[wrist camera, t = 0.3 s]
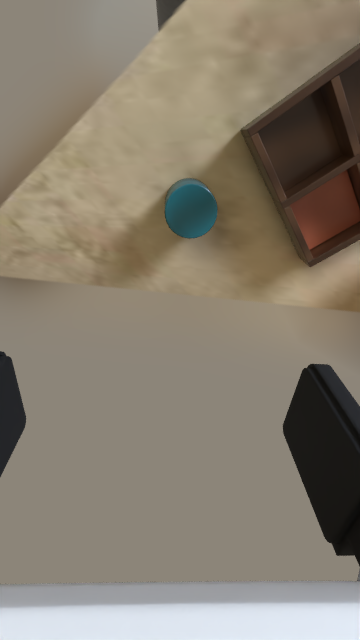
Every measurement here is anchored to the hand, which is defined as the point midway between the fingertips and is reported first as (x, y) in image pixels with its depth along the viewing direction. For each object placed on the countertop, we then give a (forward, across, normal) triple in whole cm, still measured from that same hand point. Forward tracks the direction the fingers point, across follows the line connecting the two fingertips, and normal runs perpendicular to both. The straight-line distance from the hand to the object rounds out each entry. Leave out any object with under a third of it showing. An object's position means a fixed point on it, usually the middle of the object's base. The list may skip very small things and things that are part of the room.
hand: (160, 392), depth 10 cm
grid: (+21, -15, -7) cm, 27 cm away
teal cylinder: (+22, -2, -2) cm, 22 cm away
